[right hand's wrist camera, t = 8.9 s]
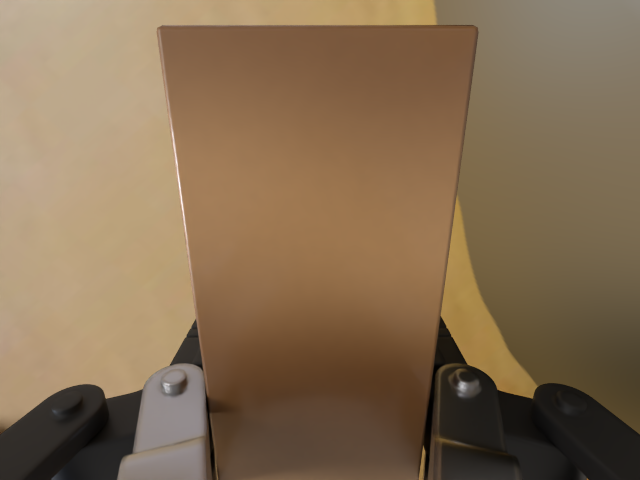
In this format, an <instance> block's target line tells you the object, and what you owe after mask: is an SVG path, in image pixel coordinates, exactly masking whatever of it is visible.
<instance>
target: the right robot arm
mask: <svg viewBox="0 0 640 480" xmlns="http://www.w3.org/2000/svg"><path fill="white" fill-rule="evenodd" d="M423 446H424V449H425V457H424V470H423V480H586V479H587V478H588V479H589V480H640V435H639V434H638V433H637V432H636V431H634V430H633V429H632V428H631V427H629V426H628V425H627V424H625V423H624V422H623V421H622V420H620V419H619V418H618V417H616V416H615V415H614V414H612V413H611V412H610V411H609V410H607V409H606V408H605V407H603V406H602V405H601V404H600V403H598V402H597V401H596V400H594V399H593V398H592V397H590V396H589V395H587V394H585V393H584V392H582V391H580V390H577V389H575V388H573V387H570V386H566V385H562V384H556V383H548V384H543V385H540V386H539V387H537V389H536V390H535V392H534V396H533V399H531V398H527V397H523V396H518V395H514V394H510V393H506V392H502V391H499V390H497V387H496V385H495V383H494V381H493V380H492V379H491V378H490V377H489V376H488V375H487V374H486V373H484V372H483V371H481V370H479V369H477V368H475V367H472V366H469V365H467V363H466V361H465V359H464V357H463V356H462V354H461V352H460V350H459V348H458V347H457V345H456V343H455V341H454V339H453V337H451V334H450V332H449V330H448V329H447V328H446V325H445V323H444V321H443V319H442V318H441V316H440V323H439V330H438V338H437V345H436V352H435V360H434V367H433V375H432V382H431V390H430V397H429V405H428V412H427V420H426V427H425V435H424V442H423ZM0 480H217V469H216V459H215V451H214V444H213V437H212V430H211V422H210V415H209V408H208V401H207V393H206V386H205V379H204V371H203V364H202V357H201V350H200V342H199V335H198V328H197V321H196V320H195V321H194V323H193V325H192V327H191V329H190V330H189V332H188V334H187V337H186V338H185V339H184V341H183V343H182V345H181V346H180V348H179V350H178V352H177V353H176V355H175V357H174V359H173V361H172V362H171V364H170V366H168V367H165V368H163V369H161V370H159V371H157V372H156V373H154V374H153V375H152V376H151V377H150V378H149V379H148V380H147V381H146V383H145V385H144V388H143V389H142V390H140V391H137V392H133V393H130V394H126V395H121V396H117V397H112V398H108V399H105V395H104V392H103V390H102V389H101V388H100V387H98V386H95V385H90V384H84V385H77V386H73V387H69V388H66V389H64V390H61V391H59V392H57V393H55V394H53V395H52V396H50V397H49V398H47V399H46V400H44V401H43V402H42V403H40V404H39V405H38V406H37V407H35V408H34V409H33V410H31V411H30V412H29V413H28V414H26V415H25V416H24V417H22V418H21V419H20V420H18V421H17V422H16V423H15V424H13V425H12V426H11V427H9V428H8V429H7V430H6V431H4V432H3V433H2V434H0Z"/></svg>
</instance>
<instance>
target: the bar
mask: <svg viewBox="0 0 640 480" xmlns="http://www.w3.org/2000/svg"><path fill="white" fill-rule="evenodd" d="M157 37H158V45H159V52H160V59H161V66H162V74H163V81H164V88H165V96H166V103H167V110H168V117H169V125H170V132H171V139H172V146H173V154H174V161H175V168H176V175H177V183H178V190H179V197H180V204H181V212H182V219H183V226H184V233H185V241H186V248H187V255H188V263H189V270H190V277H191V284H192V292H193V299H194V306H195V313H196V321H197V328H198V335H199V342H200V350H201V357H202V364H203V371H204V379H205V386H206V393H207V401H208V408H209V415H210V422H211V430H212V437H213V444H214V451H215V459H216V466H217V473H218V480H418V479H419V472H420V464H421V457H422V450H423V442H424V435H425V427H426V420H427V412H428V405H429V397H430V390H431V382H432V375H433V367H434V360H435V352H436V345H437V338H438V330H439V323H440V315H441V308H442V300H443V293H444V285H445V278H446V270H447V263H448V255H449V248H450V240H451V233H452V226H453V218H454V211H455V203H456V196H457V188H458V181H459V173H460V166H461V158H462V151H463V143H464V136H465V128H466V121H467V113H468V106H469V99H470V91H471V83H472V76H473V69H474V61H475V54H476V46H477V39H478V28H477V27H476V26H474V25H162V26H160V27H158V28H157Z"/></svg>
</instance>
